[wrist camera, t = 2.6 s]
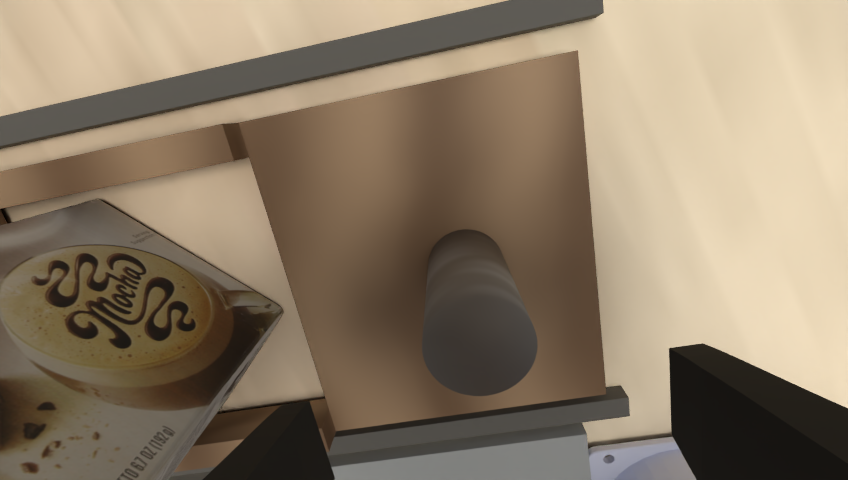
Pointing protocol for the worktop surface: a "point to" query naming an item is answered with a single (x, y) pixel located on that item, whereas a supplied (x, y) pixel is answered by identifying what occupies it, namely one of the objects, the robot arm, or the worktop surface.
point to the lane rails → (524, 12)
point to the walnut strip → (408, 242)
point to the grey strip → (471, 458)
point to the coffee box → (113, 346)
